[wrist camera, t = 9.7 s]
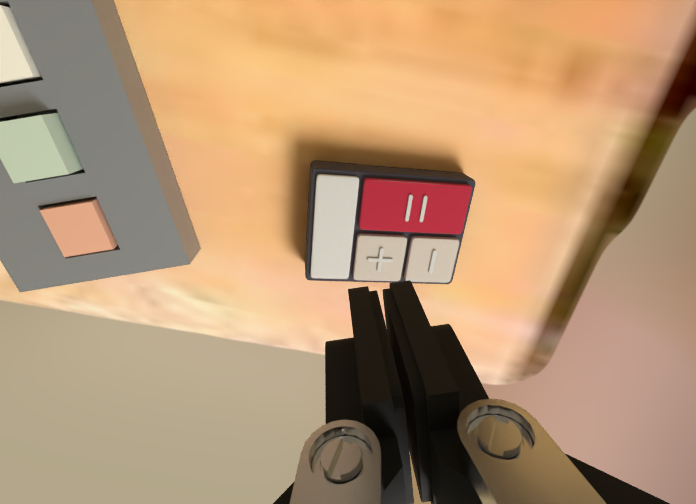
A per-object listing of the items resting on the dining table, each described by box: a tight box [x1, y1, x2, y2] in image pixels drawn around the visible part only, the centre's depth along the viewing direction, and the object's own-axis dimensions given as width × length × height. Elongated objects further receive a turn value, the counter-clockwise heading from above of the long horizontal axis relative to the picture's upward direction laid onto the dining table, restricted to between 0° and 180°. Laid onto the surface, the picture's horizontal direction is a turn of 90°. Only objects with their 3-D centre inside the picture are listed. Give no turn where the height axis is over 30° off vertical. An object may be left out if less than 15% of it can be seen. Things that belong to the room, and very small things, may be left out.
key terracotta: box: [40, 196, 118, 257], centre depth 33 cm, size 4×4×2 cm
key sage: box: [0, 113, 83, 183], centre depth 30 cm, size 4×4×2 cm
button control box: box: [305, 161, 475, 284], centre depth 37 cm, size 11×4×15 cm
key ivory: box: [0, 5, 43, 86], centre depth 28 cm, size 4×4×2 cm
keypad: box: [0, 0, 201, 292], centre depth 31 cm, size 24×16×4 cm, turn 9°
